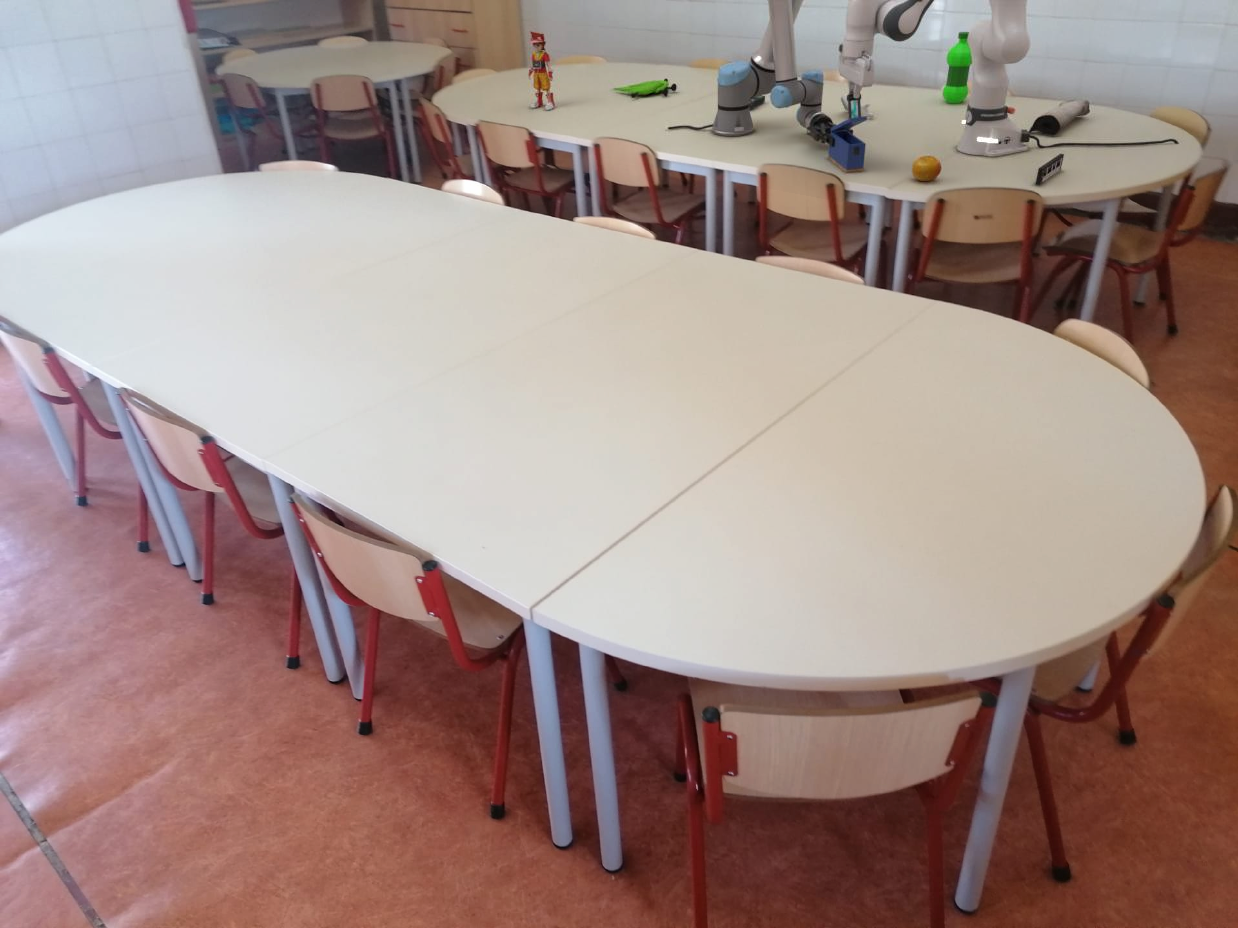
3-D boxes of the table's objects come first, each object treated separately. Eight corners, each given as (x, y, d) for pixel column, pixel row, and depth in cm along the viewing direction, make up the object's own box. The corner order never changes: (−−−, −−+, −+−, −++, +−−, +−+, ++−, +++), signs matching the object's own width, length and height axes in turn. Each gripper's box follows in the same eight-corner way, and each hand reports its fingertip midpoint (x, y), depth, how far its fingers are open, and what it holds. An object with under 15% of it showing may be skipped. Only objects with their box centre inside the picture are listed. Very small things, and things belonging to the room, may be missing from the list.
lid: (867, 120, 281) (865, 91, 280) (850, 122, 281) (848, 93, 279) (846, 130, 298) (845, 103, 297) (830, 131, 298) (829, 104, 296)
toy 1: (525, 109, 381) (517, 32, 364) (534, 104, 388) (527, 28, 371) (550, 110, 377) (543, 32, 360) (559, 105, 384) (553, 28, 367)
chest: (862, 171, 290) (865, 143, 285) (846, 172, 289) (848, 145, 284) (844, 156, 304) (846, 130, 299) (828, 158, 303) (830, 131, 298)
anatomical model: (836, 88, 347) (861, 81, 346) (838, 115, 353) (863, 108, 352) (847, 98, 335) (873, 90, 334) (849, 125, 341) (875, 118, 340)
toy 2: (686, 85, 398) (631, 84, 414) (685, 72, 395) (629, 72, 411) (651, 104, 381) (596, 103, 397) (650, 92, 378) (594, 91, 394)
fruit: (905, 171, 275) (922, 148, 272) (907, 173, 283) (923, 151, 280) (928, 186, 274) (945, 163, 271) (929, 188, 282) (946, 166, 279)
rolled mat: (1057, 104, 331) (1081, 87, 323) (1070, 125, 332) (1095, 108, 324) (1024, 126, 314) (1049, 109, 306) (1039, 148, 314) (1064, 131, 306)
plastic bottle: (973, 101, 354) (984, 32, 339) (955, 106, 349) (966, 36, 335) (952, 97, 361) (962, 29, 346) (934, 102, 356) (944, 33, 342)
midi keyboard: (1039, 185, 269) (1043, 168, 266) (1035, 184, 270) (1038, 168, 267) (1060, 170, 279) (1064, 154, 277) (1056, 169, 280) (1060, 153, 277)
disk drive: (750, 111, 360) (765, 102, 370) (750, 104, 358) (765, 95, 368) (726, 109, 364) (742, 100, 375) (726, 102, 363) (742, 93, 373)
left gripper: (843, 133, 318) (868, 150, 299) (792, 138, 316) (814, 156, 297) (845, 110, 314) (871, 127, 295) (794, 115, 312) (816, 132, 293)
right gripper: (881, 54, 266) (876, 103, 274) (855, 42, 283) (851, 89, 291) (861, 56, 266) (856, 105, 273) (836, 44, 282) (832, 91, 290)
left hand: (842, 141), depth 296 cm, fingers closed on chest, 6 cm apart
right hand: (853, 96), depth 282 cm, fingers closed, pressing on lid
